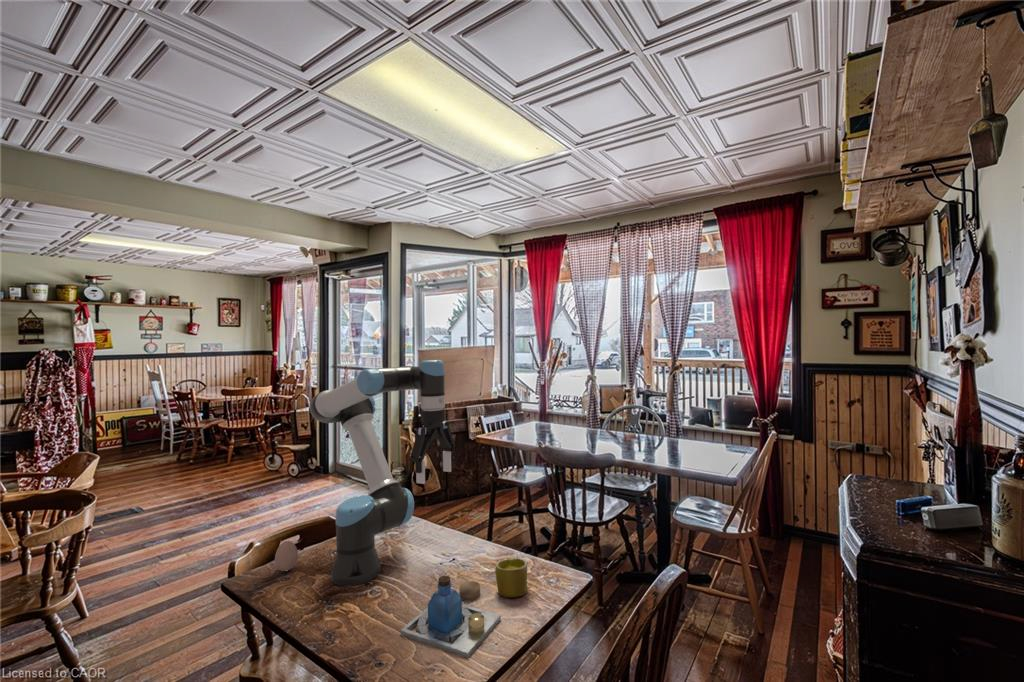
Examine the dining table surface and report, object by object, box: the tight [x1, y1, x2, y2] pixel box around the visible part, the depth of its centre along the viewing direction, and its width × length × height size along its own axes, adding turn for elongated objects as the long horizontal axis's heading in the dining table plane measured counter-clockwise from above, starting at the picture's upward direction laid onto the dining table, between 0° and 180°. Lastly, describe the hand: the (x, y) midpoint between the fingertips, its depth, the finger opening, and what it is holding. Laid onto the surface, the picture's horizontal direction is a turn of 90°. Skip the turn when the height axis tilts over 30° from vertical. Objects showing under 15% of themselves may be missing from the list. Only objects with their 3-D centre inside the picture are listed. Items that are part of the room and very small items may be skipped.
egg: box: [274, 540, 299, 572], centre depth 146 cm, size 7×7×10 cm
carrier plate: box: [400, 604, 502, 659], centre depth 114 cm, size 20×16×4 cm
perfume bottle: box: [427, 575, 463, 633], centre depth 115 cm, size 6×6×12 cm
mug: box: [495, 556, 528, 599], centre depth 131 cm, size 12×10×10 cm
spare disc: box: [458, 580, 481, 601], centre depth 129 cm, size 6×6×2 cm
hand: (434, 477), depth 139 cm, fingers open, 13 cm apart
